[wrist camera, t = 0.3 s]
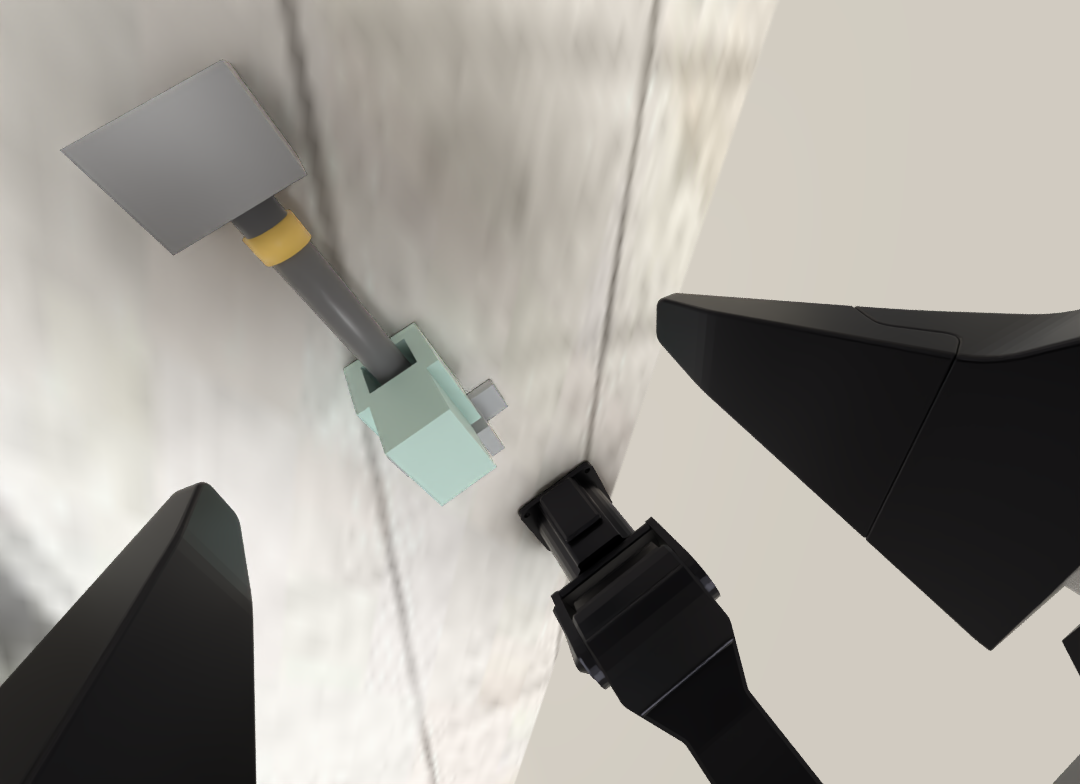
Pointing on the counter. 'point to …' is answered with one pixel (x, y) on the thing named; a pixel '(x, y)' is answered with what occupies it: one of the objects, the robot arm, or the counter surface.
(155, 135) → the grey angular piece
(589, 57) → the counter surface
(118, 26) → the counter surface
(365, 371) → the mint stepped block
